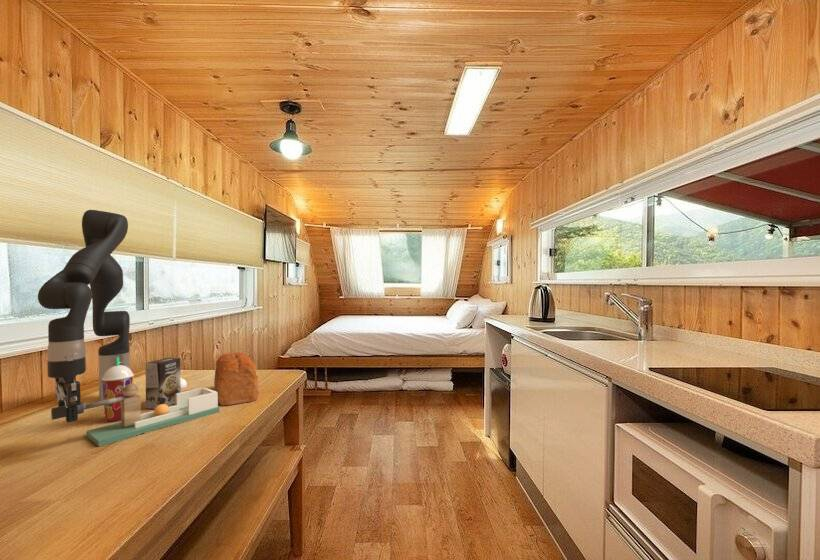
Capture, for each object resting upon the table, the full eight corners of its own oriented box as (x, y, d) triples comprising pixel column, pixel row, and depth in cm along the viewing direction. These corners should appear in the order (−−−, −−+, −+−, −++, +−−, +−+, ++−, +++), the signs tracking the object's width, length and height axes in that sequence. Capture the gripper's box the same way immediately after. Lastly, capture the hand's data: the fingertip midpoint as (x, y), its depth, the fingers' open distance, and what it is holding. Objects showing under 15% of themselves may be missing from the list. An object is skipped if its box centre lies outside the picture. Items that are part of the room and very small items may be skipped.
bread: (250, 383, 159) (249, 348, 159) (260, 400, 136) (259, 359, 136) (213, 389, 152) (213, 352, 152) (217, 408, 129) (217, 364, 129)
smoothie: (141, 415, 123) (140, 355, 123) (113, 424, 115) (112, 360, 115) (123, 412, 125) (122, 353, 125) (95, 421, 118) (94, 358, 118)
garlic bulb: (174, 387, 157) (172, 368, 157) (190, 385, 158) (187, 366, 158) (166, 392, 151) (164, 372, 151) (182, 389, 151) (180, 370, 151)
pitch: (86, 436, 107) (86, 413, 107) (202, 404, 132) (202, 386, 132) (98, 446, 100) (98, 422, 100) (219, 411, 125) (219, 392, 125)
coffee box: (160, 409, 128) (159, 363, 128) (145, 408, 129) (144, 362, 129) (181, 401, 137) (181, 357, 137) (167, 400, 138) (166, 357, 138)
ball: (151, 417, 116) (151, 405, 116) (166, 413, 120) (166, 401, 120) (156, 420, 114) (156, 407, 114) (171, 416, 117) (171, 403, 117)
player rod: (51, 442, 98) (50, 398, 98) (137, 420, 113) (136, 381, 113) (54, 446, 96) (53, 400, 96) (141, 422, 111) (140, 383, 111)
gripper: (41, 356, 100) (42, 416, 100) (53, 363, 92) (54, 428, 92) (78, 352, 106) (79, 408, 106) (92, 357, 98) (93, 419, 98)
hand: (67, 417), depth 99 cm, fingers open, 8 cm apart
